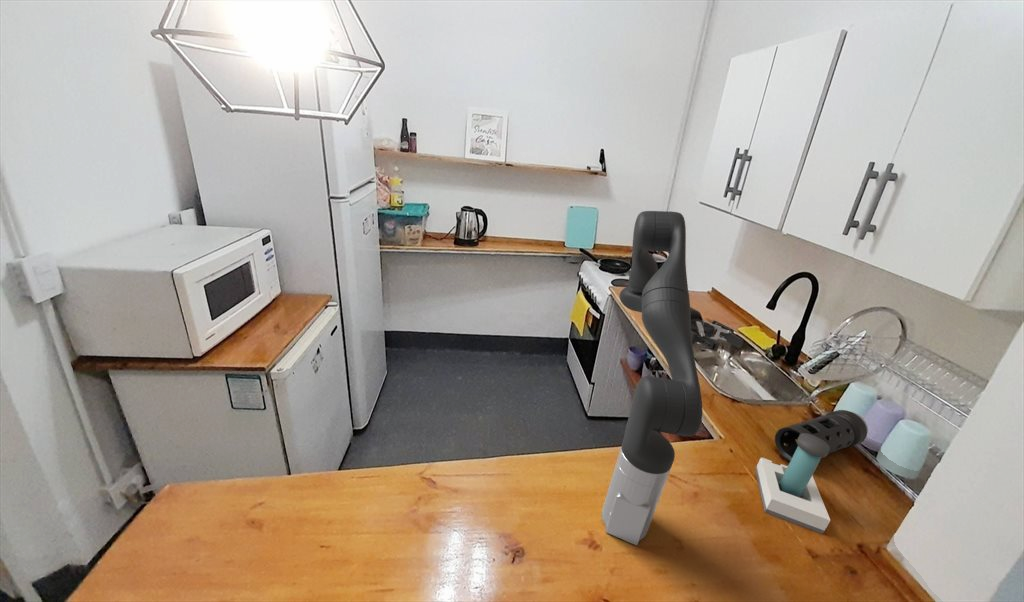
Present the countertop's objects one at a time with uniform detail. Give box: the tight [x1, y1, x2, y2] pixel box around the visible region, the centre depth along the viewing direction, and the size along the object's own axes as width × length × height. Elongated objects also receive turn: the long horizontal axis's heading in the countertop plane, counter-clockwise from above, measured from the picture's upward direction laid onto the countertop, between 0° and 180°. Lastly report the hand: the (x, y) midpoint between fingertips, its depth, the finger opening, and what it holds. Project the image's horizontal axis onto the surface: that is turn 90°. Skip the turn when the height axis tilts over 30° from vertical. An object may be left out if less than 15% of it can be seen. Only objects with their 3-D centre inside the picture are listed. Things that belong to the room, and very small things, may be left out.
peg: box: [778, 433, 830, 498], centre depth 89 cm, size 6×6×16 cm
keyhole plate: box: [754, 456, 831, 535], centre depth 92 cm, size 14×11×4 cm
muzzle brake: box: [774, 409, 869, 463], centre depth 109 cm, size 10×28×10 cm, turn 115°
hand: (729, 346), depth 94 cm, fingers open, 8 cm apart
